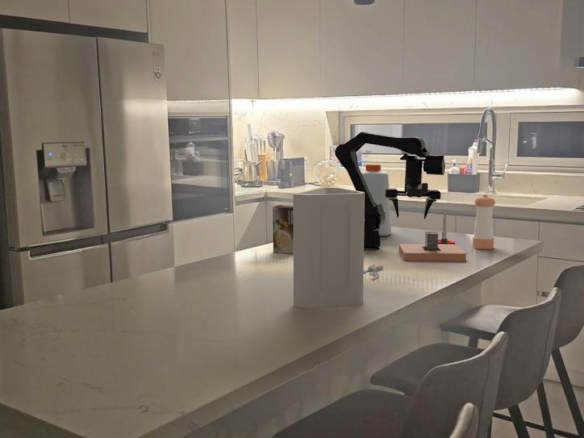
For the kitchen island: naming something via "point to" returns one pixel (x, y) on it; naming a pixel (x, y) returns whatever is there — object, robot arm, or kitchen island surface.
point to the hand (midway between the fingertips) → (411, 218)
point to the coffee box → (283, 229)
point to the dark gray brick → (431, 241)
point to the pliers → (374, 271)
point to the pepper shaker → (484, 223)
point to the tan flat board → (432, 253)
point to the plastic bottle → (379, 192)
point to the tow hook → (445, 233)
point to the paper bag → (328, 247)
